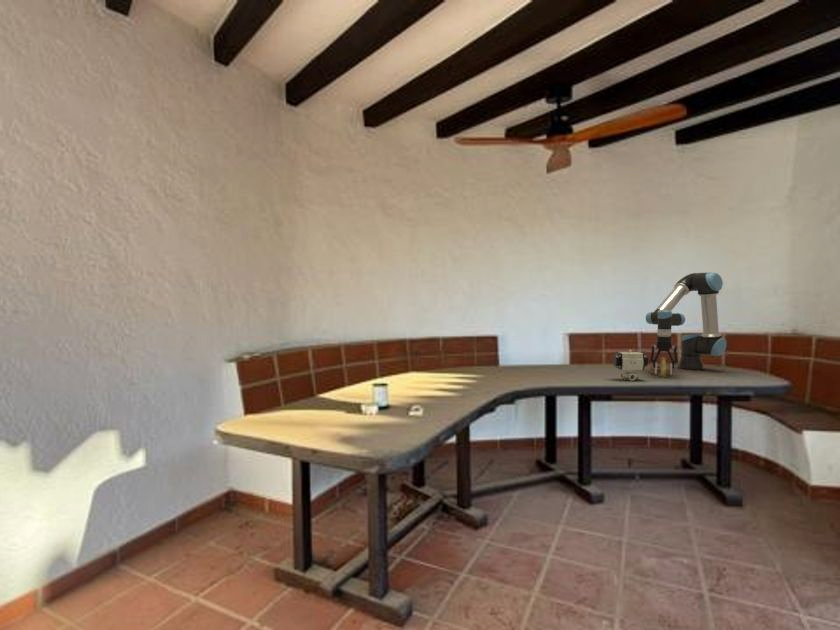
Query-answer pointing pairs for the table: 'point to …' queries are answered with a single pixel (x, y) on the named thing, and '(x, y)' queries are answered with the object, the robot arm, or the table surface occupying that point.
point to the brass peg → (663, 367)
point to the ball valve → (630, 363)
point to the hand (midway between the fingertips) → (663, 373)
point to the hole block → (652, 370)
